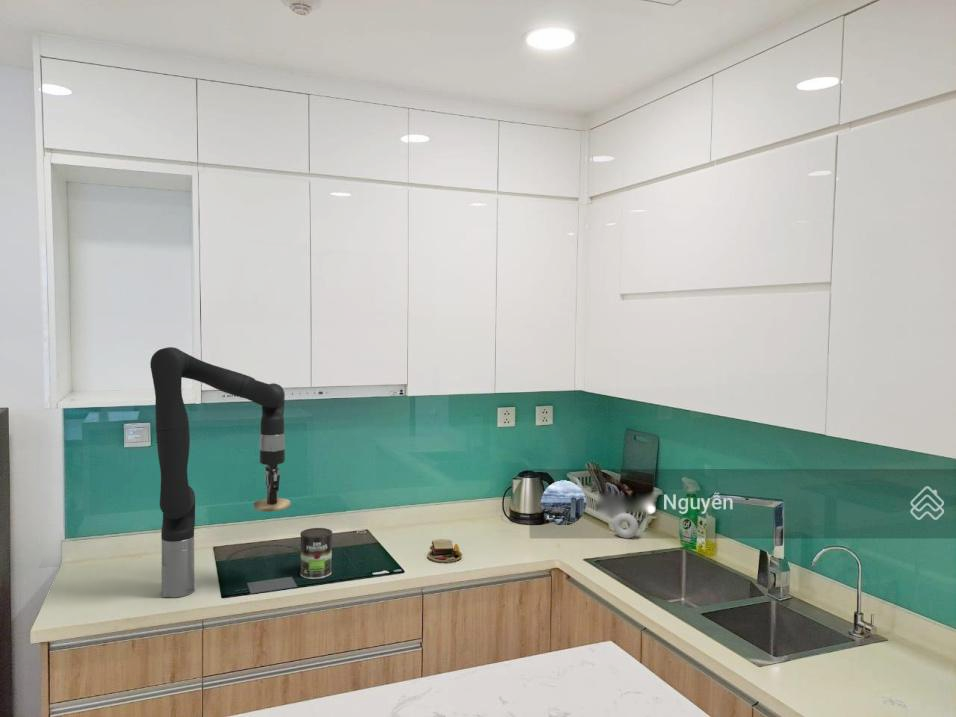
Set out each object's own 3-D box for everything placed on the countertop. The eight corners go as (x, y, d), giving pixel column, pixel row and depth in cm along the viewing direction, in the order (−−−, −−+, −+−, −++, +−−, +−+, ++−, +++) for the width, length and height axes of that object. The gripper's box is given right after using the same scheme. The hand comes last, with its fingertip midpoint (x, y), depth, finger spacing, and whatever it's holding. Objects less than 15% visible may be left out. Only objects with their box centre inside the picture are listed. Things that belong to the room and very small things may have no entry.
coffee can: (333, 578, 225) (333, 536, 224) (300, 581, 222) (300, 538, 222) (331, 567, 235) (331, 526, 234) (299, 569, 232) (300, 528, 231)
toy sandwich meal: (427, 564, 240) (427, 551, 240) (427, 551, 254) (427, 538, 253) (463, 564, 241) (463, 550, 241) (461, 551, 255) (461, 538, 254)
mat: (250, 594, 211) (250, 593, 211) (247, 584, 219) (247, 582, 219) (297, 587, 217) (297, 586, 217) (291, 577, 225) (291, 576, 225)
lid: (256, 512, 209) (256, 496, 209) (251, 503, 219) (251, 487, 219) (293, 509, 214) (293, 492, 213) (287, 500, 224) (287, 484, 223)
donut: (611, 537, 273) (612, 512, 272) (613, 534, 276) (614, 510, 276) (636, 541, 269) (637, 515, 268) (638, 538, 272) (639, 513, 272)
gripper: (256, 444, 220) (256, 497, 221) (263, 452, 207) (262, 509, 208) (280, 443, 223) (280, 495, 224) (288, 451, 210) (288, 506, 211)
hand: (272, 501), depth 216 cm, fingers closed on lid, 3 cm apart
